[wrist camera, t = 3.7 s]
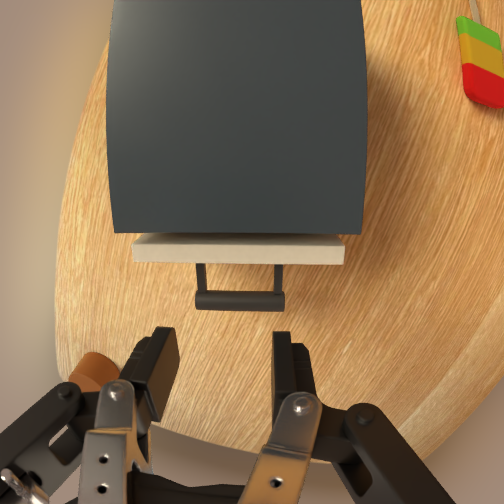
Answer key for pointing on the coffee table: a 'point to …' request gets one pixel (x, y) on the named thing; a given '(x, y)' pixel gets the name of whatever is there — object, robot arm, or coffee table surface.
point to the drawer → (239, 261)
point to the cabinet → (237, 116)
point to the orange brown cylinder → (93, 372)
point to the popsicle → (481, 60)
